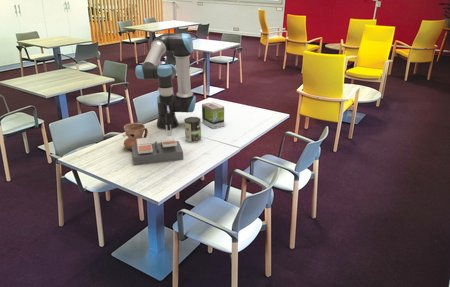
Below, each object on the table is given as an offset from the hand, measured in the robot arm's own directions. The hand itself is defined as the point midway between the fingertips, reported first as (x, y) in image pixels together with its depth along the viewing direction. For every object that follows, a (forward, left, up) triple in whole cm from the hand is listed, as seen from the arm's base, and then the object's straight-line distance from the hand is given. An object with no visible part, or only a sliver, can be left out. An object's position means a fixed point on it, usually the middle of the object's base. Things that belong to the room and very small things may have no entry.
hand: (168, 134), depth 208 cm
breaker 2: (-5, 0, -7) cm, 9 cm away
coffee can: (-24, +18, -15) cm, 34 cm away
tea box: (-47, +37, -16) cm, 62 cm away
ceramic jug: (-22, -18, -15) cm, 33 cm away
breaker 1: (-5, -14, -7) cm, 17 cm away
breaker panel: (-5, -7, -15) cm, 17 cm away
